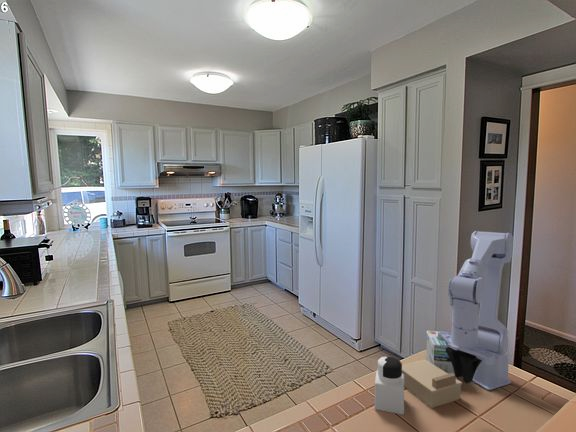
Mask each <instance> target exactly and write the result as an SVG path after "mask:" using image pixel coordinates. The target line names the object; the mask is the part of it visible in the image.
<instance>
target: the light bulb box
mask: <svg viewBox="0 0 576 432" xmlns="http://www.w3.org/2000/svg"><path fill="white" fill-rule="evenodd" d="M438 332H439V331H437V330H436V331H435V330H426V350H425V351H426V355H425V356H426V359H425V360H427V361H428V362H430V363H432V364H433V365H435V366H436V367H438V368H440V369H441V370H443V371H445V372H446V373H448V374H450V373H453V374H455V373H454V369H453V366H452V363H451V360H450V358H449V356H448V354H447V352H446V348H447V347H449V346H450V344H449V343H447V342H445V341H443V340H442V341H440V340H438ZM456 379H457V380H458V378H457V377H456Z"/></svg>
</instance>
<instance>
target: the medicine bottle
mask: <svg viewBox="0 0 576 432" xmlns="http://www.w3.org/2000/svg"><path fill="white" fill-rule="evenodd" d="M402 365H403V364H402V362H401V361H400V360H399V359H398V358H397V357H396V358H395V357H394V356H381V357H380V358H379V359H378V360H377V369H376V373H375V381H374V409H375V410H376V411H383V412H387V413H392V414H397V415H402V416H404V414H405V387H404V374H402Z"/></svg>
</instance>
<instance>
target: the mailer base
mask: <svg viewBox="0 0 576 432" xmlns="http://www.w3.org/2000/svg"><path fill="white" fill-rule="evenodd" d="M402 374H404V388H405V389H406V390H408V391H409V390H410V391H409V392H411V393H412V394H413V395H414V394H415V395H414V396H416V398H418V397H419V398H418V399H419V400H421V401H422V402H423V403H424V404H426V405H427V406H428V407H430V409H434V408H436V407H440V406H443V405H446V404H449V403H452V402H455V401H458V400H461V399H462V398H461V397H462V396H461V393H462V391H461V390H462V384H461V385H458V386H454V387H451V388H448V389H444V390H441V391H438V392H435V393H431V392H430V391H428V390H427V389H426V388H424V387H423V386H422V385H420V384H419V383H417V382H416V381H415V380H413V379H412V378H411V377H409V376H408V375H406V374H405V373H404V372H402Z"/></svg>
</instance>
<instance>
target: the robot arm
mask: <svg viewBox="0 0 576 432" xmlns="http://www.w3.org/2000/svg"><path fill="white" fill-rule="evenodd" d="M513 237H514V235H512V234H511V232H494V231H478V230H474V231H473V232H472V233H471V236H470V249H471V250H472V256H471V258H468V259H466V260H465V261H464V263H463V264H462V267H460V270H459V273H458V274H457V275H455V276H454V277H451V278H450V279H449V282H448V296H449V297H448V298H449V306H451V333H449V332H447V331H444V330H443V331H438V340H440V341H442V340H443V341H445V342H447V343H449V344H450V346H449V347H447V348H446V352H447V354H448V356H449V358H450V360H451V363H452V366H453V369H454V373H455V377H457V379H459V378H462V380H463V383H464V384H469V383H472V382H473V383H475V384H476V385H478V386H480V387H482V388H483V389H485V390H487V391H491V390H494V389H498V388H501V387H504V386H507V385H510V384H512V381H511V380H509V367H510V366H509V361H510V360H509V358H508V356H507V352H508V346H509V337H508V335H509V330H508V328H507V327H506V326H505V325H504V323H502V322H501V321H500V320H499V319H498V315H499V304H500V297H501V296H500V295H501V285H502V284H501V283H502V274H503V268H504V265H505V264H507V263H511V261H512V258H513V250H514V238H513Z"/></svg>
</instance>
